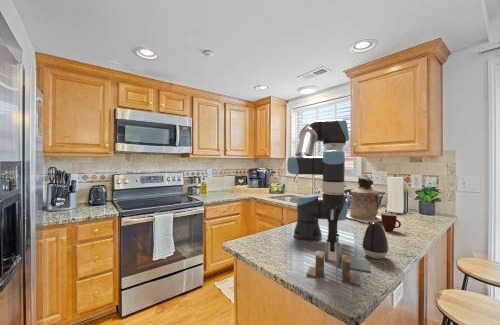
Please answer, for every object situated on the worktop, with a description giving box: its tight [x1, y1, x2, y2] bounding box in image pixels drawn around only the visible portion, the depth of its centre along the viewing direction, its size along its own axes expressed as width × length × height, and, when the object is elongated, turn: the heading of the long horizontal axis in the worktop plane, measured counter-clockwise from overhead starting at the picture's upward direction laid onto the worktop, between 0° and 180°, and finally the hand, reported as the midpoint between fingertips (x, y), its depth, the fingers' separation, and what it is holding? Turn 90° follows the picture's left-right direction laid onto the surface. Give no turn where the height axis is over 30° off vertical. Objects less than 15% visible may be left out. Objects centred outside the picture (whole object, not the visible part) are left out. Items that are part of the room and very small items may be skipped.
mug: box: [380, 212, 402, 232], centre depth 143 cm, size 11×8×10 cm
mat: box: [336, 256, 372, 273], centre depth 95 cm, size 12×10×1 cm
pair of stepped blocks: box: [306, 250, 361, 287], centre depth 85 cm, size 18×7×8 cm, turn 67°
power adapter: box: [324, 234, 342, 267], centre depth 85 cm, size 3×5×12 cm, turn 40°
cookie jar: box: [346, 175, 382, 225], centre depth 175 cm, size 25×25×32 cm
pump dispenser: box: [361, 221, 389, 260], centre depth 104 cm, size 10×10×15 cm
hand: (332, 256), depth 86 cm, fingers closed on power adapter, 5 cm apart
